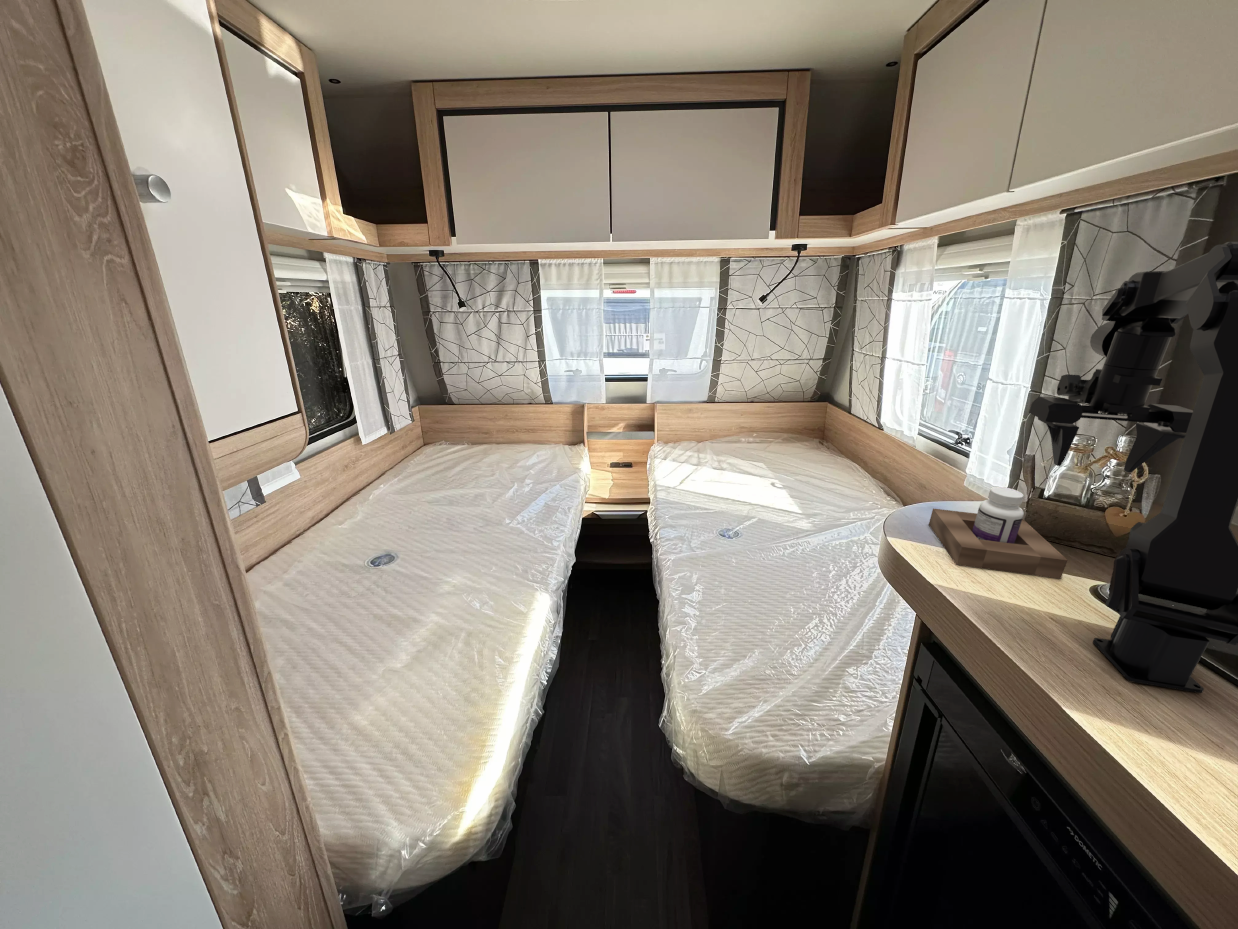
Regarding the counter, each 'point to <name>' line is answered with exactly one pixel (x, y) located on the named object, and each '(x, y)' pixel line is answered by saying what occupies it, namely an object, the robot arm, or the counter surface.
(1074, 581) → the counter surface
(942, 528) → the walnut holder
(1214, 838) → the counter surface
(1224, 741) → the counter surface
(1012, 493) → the pill bottle
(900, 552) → the counter surface
